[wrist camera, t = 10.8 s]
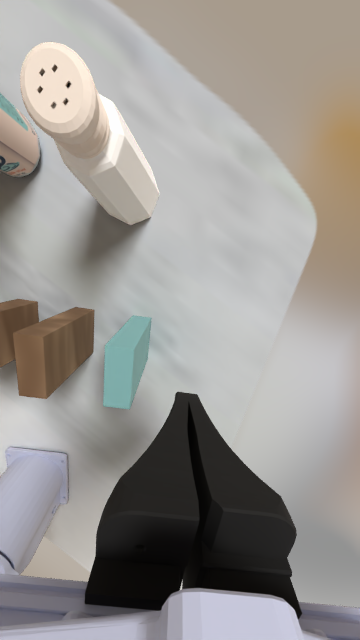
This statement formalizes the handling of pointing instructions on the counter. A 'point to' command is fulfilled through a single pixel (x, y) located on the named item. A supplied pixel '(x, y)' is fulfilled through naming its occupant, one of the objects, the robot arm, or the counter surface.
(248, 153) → the counter surface
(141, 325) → the teal domino
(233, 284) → the counter surface
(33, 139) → the beer can
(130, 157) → the pepper shaker
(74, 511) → the counter surface
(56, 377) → the walnut domino
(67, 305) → the counter surface
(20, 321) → the walnut domino
